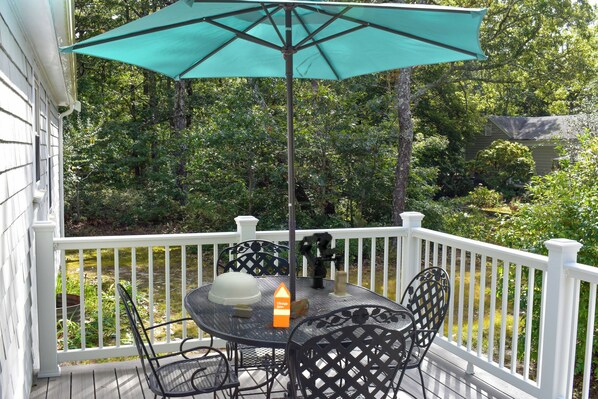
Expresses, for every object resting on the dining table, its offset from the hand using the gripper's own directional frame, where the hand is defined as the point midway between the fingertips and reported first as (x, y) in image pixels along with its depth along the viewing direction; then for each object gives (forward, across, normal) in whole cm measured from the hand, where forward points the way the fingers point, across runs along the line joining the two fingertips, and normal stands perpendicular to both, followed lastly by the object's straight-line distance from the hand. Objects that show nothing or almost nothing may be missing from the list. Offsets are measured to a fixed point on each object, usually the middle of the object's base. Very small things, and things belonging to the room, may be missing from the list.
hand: (332, 272), depth 332 cm
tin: (+30, -38, -11) cm, 50 cm away
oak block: (+14, 0, +2) cm, 14 cm away
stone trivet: (+16, +1, +4) cm, 17 cm away
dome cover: (0, -56, +20) cm, 59 cm away
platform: (+24, -64, -4) cm, 69 cm away
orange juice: (+36, -52, -16) cm, 65 cm away
